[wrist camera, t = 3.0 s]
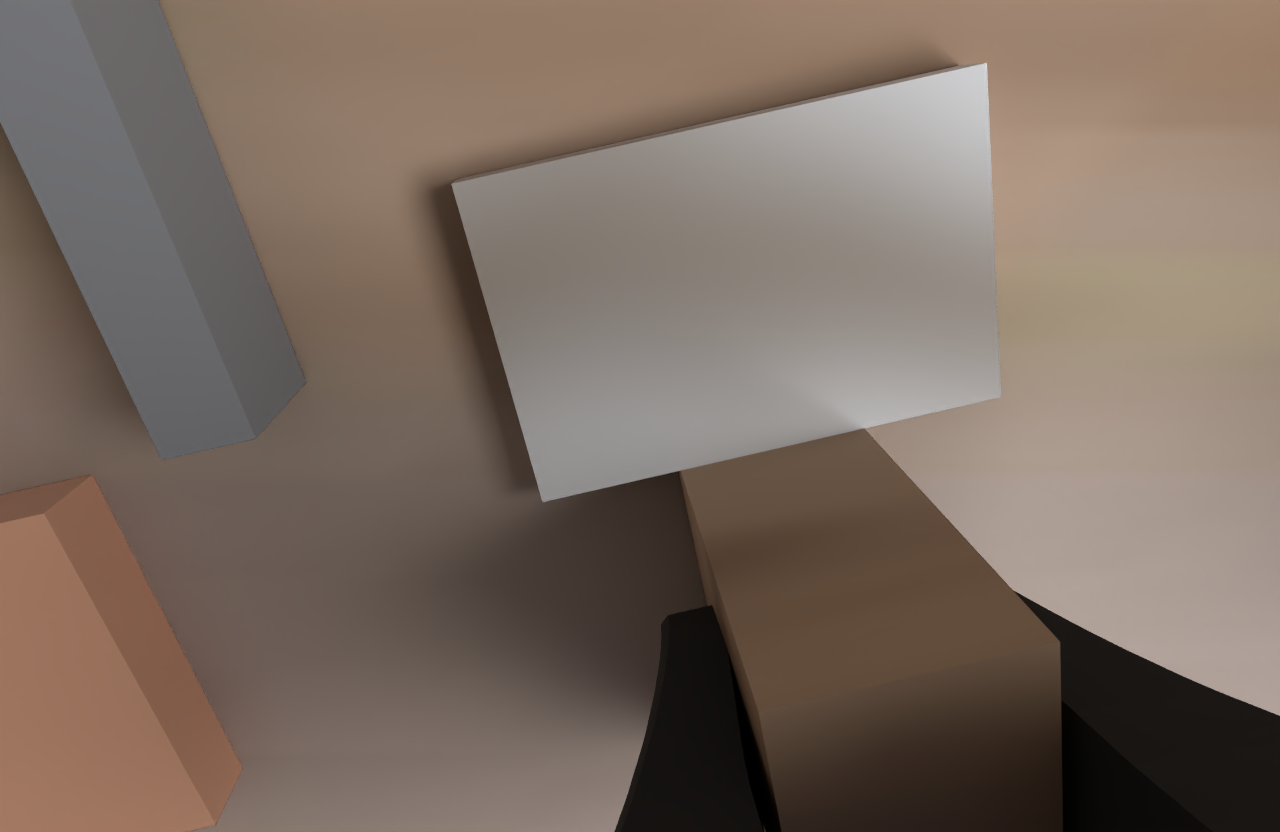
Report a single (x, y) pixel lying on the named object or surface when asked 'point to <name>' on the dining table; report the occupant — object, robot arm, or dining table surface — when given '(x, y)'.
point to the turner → (796, 428)
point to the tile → (95, 681)
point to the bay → (145, 217)
